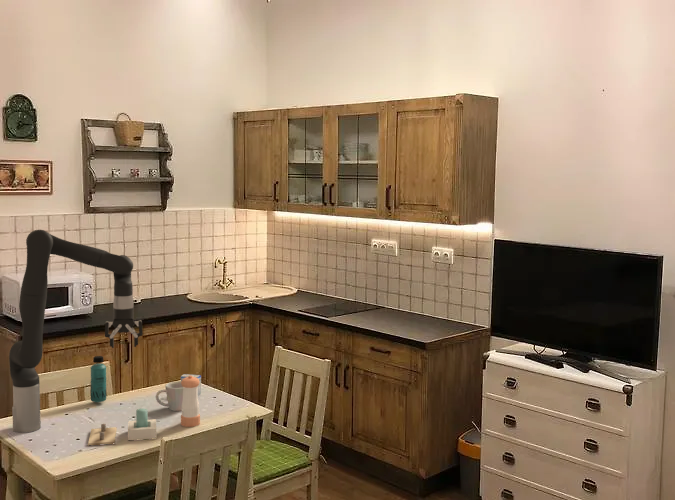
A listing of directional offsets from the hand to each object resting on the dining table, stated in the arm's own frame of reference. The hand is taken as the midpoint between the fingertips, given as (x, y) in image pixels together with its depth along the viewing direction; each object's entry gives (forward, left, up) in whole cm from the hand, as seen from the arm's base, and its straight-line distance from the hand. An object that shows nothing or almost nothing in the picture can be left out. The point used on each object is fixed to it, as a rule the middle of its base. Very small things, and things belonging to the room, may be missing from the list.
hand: (124, 347), depth 293 cm
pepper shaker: (+25, -14, -28) cm, 40 cm away
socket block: (+7, -23, -28) cm, 37 cm away
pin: (+7, -23, -28) cm, 36 cm away
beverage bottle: (-11, +18, -28) cm, 35 cm away
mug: (+19, +5, -28) cm, 34 cm away
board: (-7, -23, -28) cm, 37 cm away
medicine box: (+27, +23, -28) cm, 45 cm away
